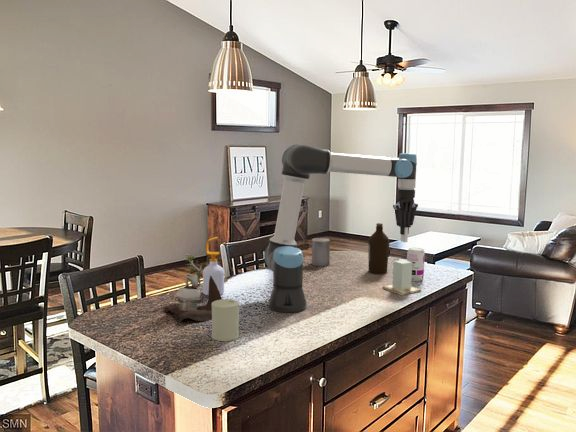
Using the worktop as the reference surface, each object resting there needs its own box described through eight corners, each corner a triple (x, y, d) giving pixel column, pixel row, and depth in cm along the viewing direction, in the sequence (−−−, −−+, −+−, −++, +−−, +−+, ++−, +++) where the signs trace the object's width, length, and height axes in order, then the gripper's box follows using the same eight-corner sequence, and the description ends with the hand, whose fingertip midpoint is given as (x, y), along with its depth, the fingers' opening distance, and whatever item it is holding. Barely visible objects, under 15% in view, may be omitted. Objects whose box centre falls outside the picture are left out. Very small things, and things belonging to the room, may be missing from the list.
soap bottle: (222, 296, 221) (222, 239, 217) (201, 296, 221) (200, 239, 218) (225, 290, 230) (225, 235, 226) (205, 290, 230) (204, 235, 226)
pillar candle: (320, 261, 289) (321, 234, 287) (333, 264, 282) (333, 237, 280) (307, 263, 283) (308, 236, 281) (320, 267, 276) (320, 239, 274)
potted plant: (160, 317, 201) (170, 253, 204) (204, 321, 211) (213, 260, 215) (180, 323, 184) (191, 253, 188) (227, 327, 195) (236, 261, 198)
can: (244, 336, 176) (244, 301, 174) (224, 343, 169) (223, 307, 168) (226, 329, 182) (226, 296, 181) (205, 336, 175) (205, 301, 174)
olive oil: (389, 270, 271) (391, 222, 267) (386, 275, 261) (388, 225, 257) (369, 268, 274) (371, 221, 271) (365, 273, 264) (367, 224, 261)
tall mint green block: (401, 290, 231) (402, 263, 229) (392, 287, 236) (393, 261, 234) (411, 288, 233) (412, 262, 232) (402, 285, 238) (403, 259, 237)
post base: (400, 295, 226) (401, 277, 225) (382, 288, 237) (383, 271, 236) (421, 291, 233) (422, 274, 231) (402, 285, 243) (403, 268, 242)
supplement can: (421, 277, 257) (423, 247, 255) (424, 281, 249) (426, 251, 247) (405, 276, 258) (406, 247, 256) (407, 281, 250) (408, 250, 248)
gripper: (411, 187, 235) (408, 239, 238) (389, 188, 228) (387, 241, 231) (423, 188, 228) (420, 241, 232) (401, 189, 222) (398, 244, 225)
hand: (404, 241), depth 232 cm, fingers closed
